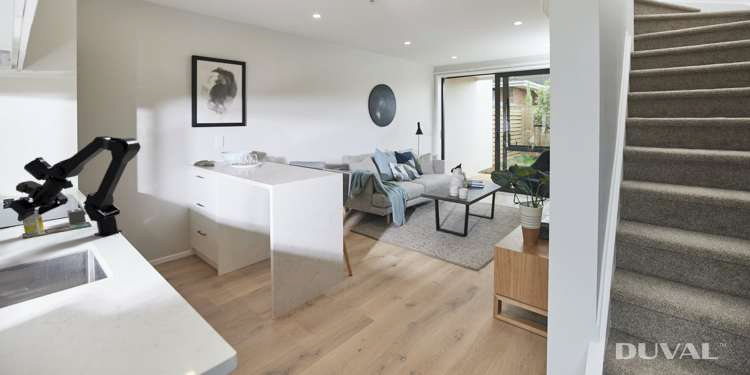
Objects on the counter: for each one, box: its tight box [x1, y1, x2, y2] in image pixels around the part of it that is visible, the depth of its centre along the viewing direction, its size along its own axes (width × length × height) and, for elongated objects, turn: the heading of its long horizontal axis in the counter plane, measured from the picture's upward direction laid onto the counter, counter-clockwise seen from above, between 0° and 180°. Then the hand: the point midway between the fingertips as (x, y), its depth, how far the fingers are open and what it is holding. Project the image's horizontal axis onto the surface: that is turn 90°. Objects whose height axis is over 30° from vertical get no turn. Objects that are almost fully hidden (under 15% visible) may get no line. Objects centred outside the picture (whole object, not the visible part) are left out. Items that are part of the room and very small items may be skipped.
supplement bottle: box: [22, 208, 45, 237], centre depth 138 cm, size 5×5×10 cm
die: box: [66, 207, 87, 225], centre depth 154 cm, size 5×5×6 cm
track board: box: [22, 221, 93, 240], centre depth 143 cm, size 20×7×1 cm, turn 135°
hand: (28, 217), depth 137 cm, fingers open, 7 cm apart
